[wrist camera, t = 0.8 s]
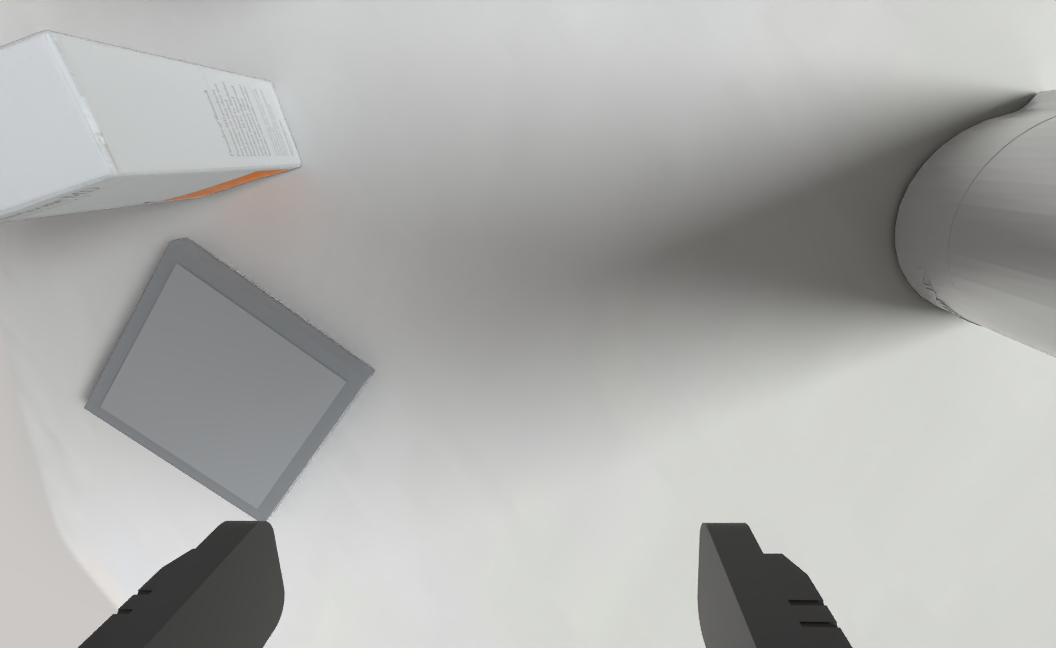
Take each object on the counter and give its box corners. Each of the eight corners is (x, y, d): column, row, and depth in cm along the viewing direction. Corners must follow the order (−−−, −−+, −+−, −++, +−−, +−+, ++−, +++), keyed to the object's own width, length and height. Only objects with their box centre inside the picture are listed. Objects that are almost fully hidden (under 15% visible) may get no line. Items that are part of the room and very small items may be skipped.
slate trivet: (186, 237, 29) (169, 241, 28) (375, 370, 30) (366, 379, 29) (101, 398, 32) (82, 408, 31) (274, 511, 34) (262, 525, 32)
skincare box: (203, 200, 28) (-51, 232, 17) (166, 115, 27) (-133, 87, 16) (309, 167, 27) (116, 178, 16) (275, 78, 26) (41, 19, 15)
